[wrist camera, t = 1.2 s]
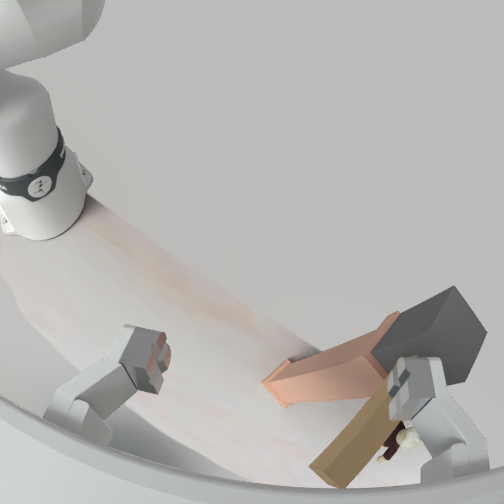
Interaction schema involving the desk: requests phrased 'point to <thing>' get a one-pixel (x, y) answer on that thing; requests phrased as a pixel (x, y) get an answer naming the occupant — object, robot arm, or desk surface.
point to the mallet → (387, 354)
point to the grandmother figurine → (399, 441)
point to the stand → (332, 372)
